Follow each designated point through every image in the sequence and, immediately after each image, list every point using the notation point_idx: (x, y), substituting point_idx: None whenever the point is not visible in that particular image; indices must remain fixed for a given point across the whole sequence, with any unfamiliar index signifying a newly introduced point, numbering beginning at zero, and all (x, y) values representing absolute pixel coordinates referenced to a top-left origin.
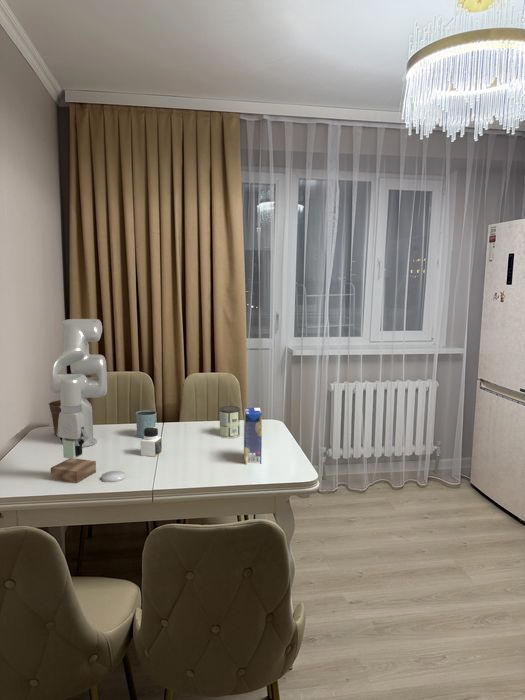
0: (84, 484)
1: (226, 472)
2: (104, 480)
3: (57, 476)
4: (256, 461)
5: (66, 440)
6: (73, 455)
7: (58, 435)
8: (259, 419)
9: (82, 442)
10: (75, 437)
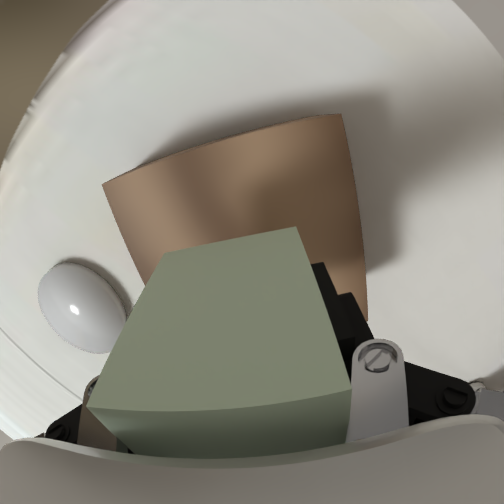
0: (93, 183)
1: (12, 409)
2: (66, 264)
3: (271, 125)
4: None
5: (260, 414)
6: (156, 271)
7: (500, 424)
8: None
9: (58, 421)
10: (13, 459)
